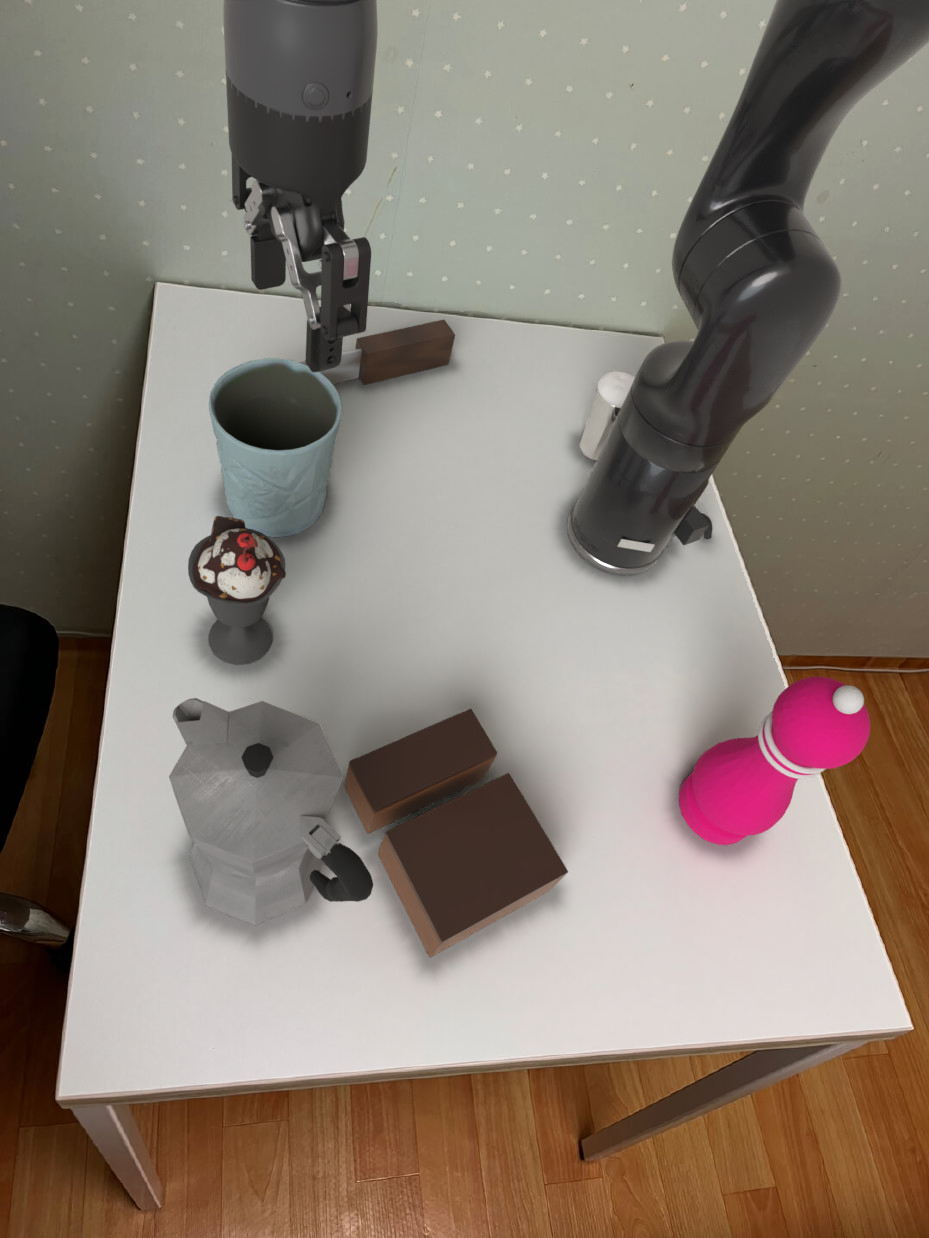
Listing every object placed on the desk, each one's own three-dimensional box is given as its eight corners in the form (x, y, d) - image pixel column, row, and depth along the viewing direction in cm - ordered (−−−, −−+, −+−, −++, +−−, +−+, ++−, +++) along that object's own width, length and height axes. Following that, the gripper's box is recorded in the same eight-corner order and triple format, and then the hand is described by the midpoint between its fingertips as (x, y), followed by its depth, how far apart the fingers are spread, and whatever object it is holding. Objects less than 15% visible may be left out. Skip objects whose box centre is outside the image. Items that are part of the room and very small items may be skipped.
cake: (494, 796, 66) (509, 771, 62) (548, 891, 63) (568, 871, 59) (377, 854, 62) (385, 831, 58) (429, 958, 59) (442, 942, 55)
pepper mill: (706, 866, 66) (852, 765, 50) (655, 784, 69) (777, 663, 53) (774, 829, 69) (934, 722, 53) (723, 752, 72) (859, 628, 56)
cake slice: (458, 735, 68) (471, 707, 64) (483, 778, 67) (498, 753, 63) (343, 787, 64) (349, 760, 60) (367, 834, 63) (374, 810, 59)
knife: (437, 349, 92) (444, 319, 89) (448, 364, 91) (455, 334, 88) (249, 393, 83) (249, 361, 80) (259, 410, 83) (259, 378, 79)
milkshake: (624, 469, 88) (662, 397, 80) (574, 462, 87) (607, 387, 79) (621, 437, 90) (657, 363, 82) (571, 429, 89) (603, 354, 81)
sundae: (268, 684, 68) (269, 574, 55) (184, 661, 67) (166, 546, 55) (294, 616, 71) (301, 499, 59) (215, 594, 71) (204, 472, 58)
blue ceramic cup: (335, 465, 81) (345, 366, 71) (329, 552, 75) (339, 458, 65) (223, 453, 79) (217, 350, 69) (209, 541, 74) (200, 443, 64)
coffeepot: (140, 839, 59) (99, 729, 45) (246, 750, 64) (241, 624, 49) (296, 1003, 56) (309, 943, 41) (396, 896, 61) (439, 808, 46)
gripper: (430, 138, 43) (394, 382, 57) (307, -4, 49) (300, 249, 62) (292, 158, 40) (288, 411, 54) (177, 4, 46) (199, 269, 59)
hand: (294, 324), depth 58 cm, fingers open, 8 cm apart
